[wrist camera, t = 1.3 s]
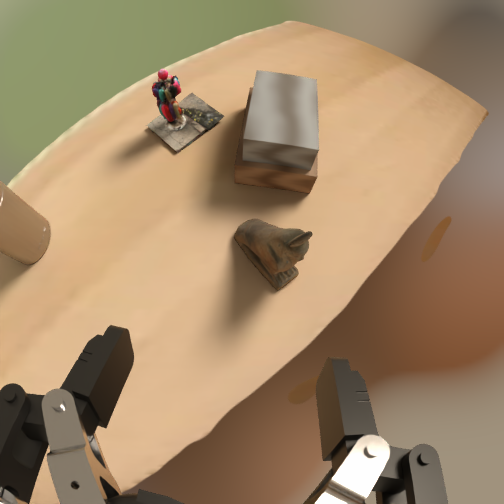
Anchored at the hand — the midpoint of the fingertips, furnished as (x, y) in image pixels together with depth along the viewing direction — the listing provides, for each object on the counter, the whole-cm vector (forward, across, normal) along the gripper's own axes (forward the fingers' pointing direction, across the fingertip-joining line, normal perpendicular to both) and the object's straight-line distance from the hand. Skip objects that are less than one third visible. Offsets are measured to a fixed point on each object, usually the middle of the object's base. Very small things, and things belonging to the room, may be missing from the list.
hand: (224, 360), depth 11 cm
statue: (+46, +14, -6) cm, 48 cm away
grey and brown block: (+44, -3, -4) cm, 44 cm away
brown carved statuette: (+30, -3, +10) cm, 32 cm away
